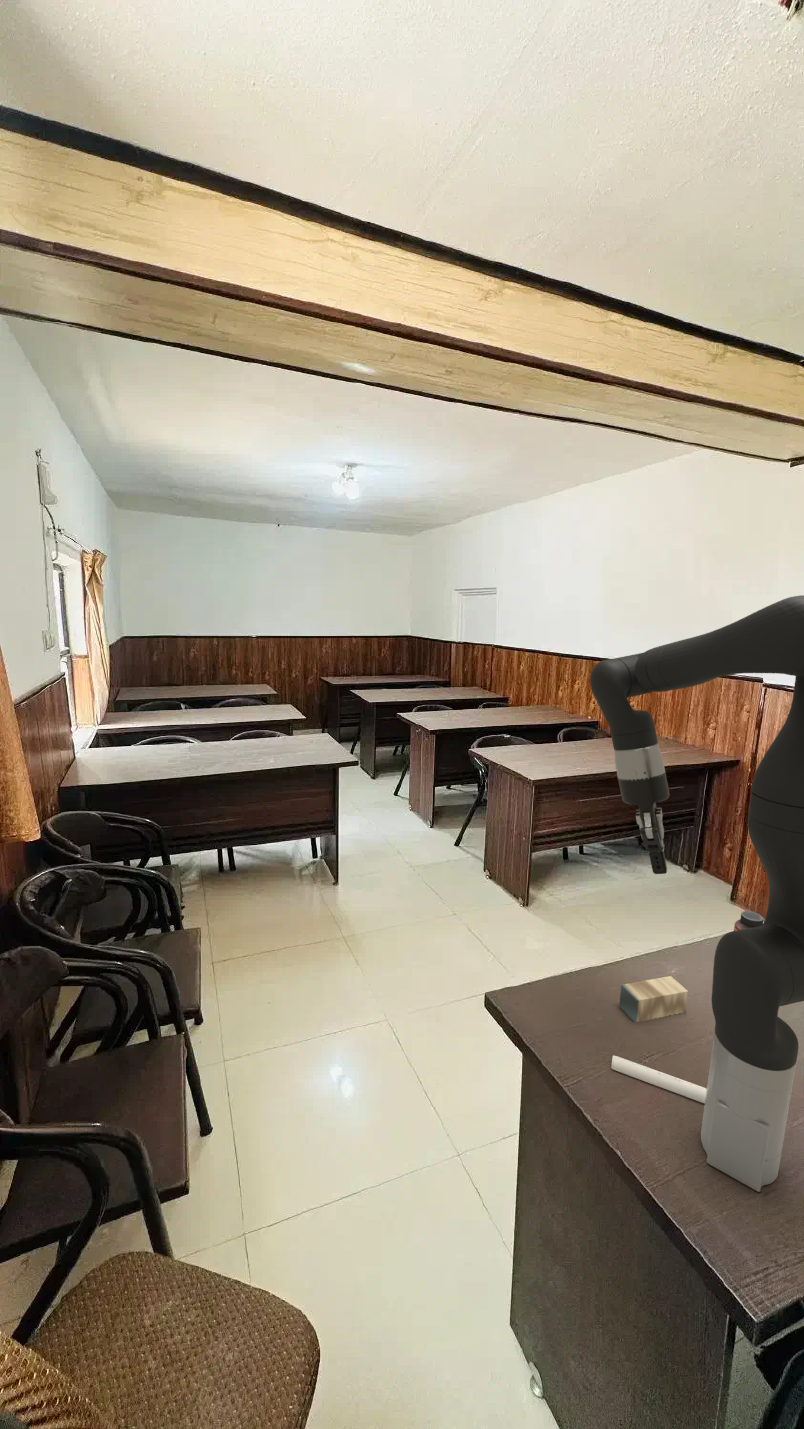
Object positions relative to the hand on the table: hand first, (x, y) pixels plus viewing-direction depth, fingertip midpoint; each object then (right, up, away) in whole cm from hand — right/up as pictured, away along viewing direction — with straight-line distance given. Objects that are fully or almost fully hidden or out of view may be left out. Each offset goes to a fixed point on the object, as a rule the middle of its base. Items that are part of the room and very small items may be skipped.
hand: (660, 872), depth 94 cm
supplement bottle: (+30, -27, +24) cm, 47 cm away
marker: (-1, -32, -7) cm, 33 cm away
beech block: (-2, -27, +8) cm, 28 cm away
